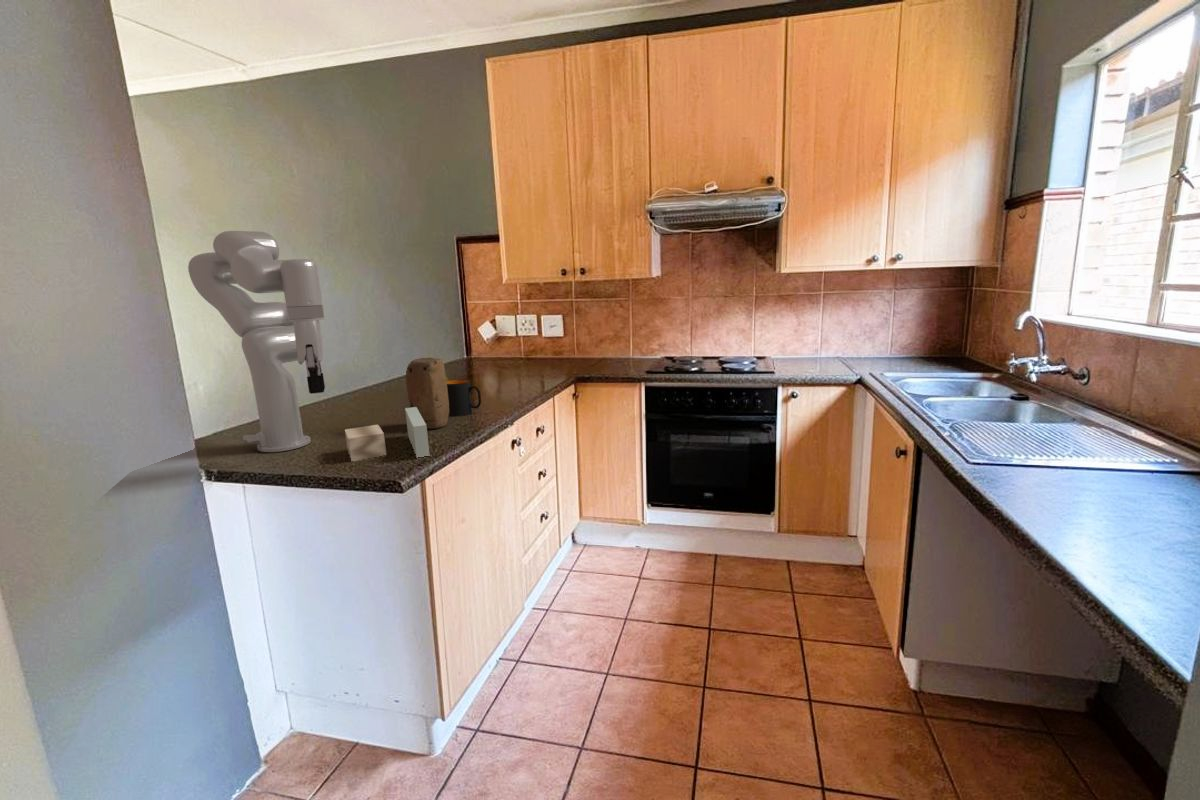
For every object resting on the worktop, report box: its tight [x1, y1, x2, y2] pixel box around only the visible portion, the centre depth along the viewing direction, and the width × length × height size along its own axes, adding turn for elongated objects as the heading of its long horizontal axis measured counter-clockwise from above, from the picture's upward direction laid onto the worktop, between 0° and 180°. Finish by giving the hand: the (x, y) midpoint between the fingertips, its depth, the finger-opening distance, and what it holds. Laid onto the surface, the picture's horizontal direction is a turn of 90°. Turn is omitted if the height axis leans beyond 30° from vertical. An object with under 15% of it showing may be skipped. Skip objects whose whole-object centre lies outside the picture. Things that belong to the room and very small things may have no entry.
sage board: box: [404, 407, 431, 459], centre depth 146 cm, size 3×22×8 cm, turn 24°
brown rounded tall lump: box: [405, 357, 450, 430], centre depth 164 cm, size 11×8×20 cm
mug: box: [447, 378, 482, 417], centre depth 179 cm, size 8×12×10 cm
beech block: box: [344, 424, 387, 462], centre depth 141 cm, size 8×10×6 cm
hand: (317, 390), depth 135 cm, fingers open, 3 cm apart
